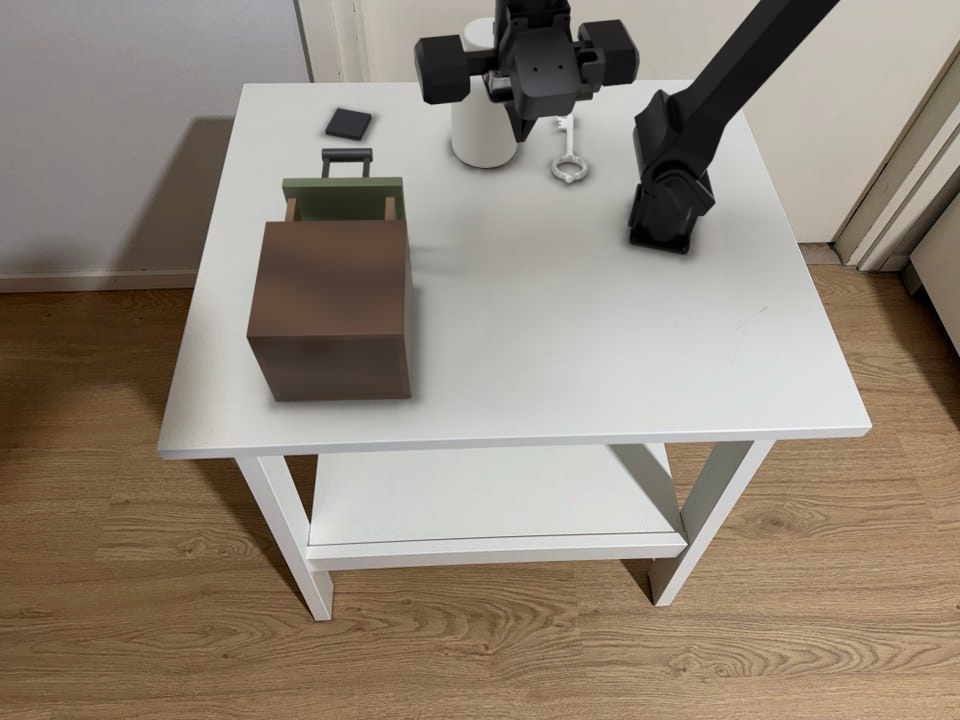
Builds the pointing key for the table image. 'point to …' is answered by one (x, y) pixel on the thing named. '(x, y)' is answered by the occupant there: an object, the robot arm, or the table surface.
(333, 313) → the cabinet
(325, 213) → the drawer
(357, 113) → the pad
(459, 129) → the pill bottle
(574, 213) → the table surface
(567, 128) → the key
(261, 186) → the table surface
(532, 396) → the table surface
